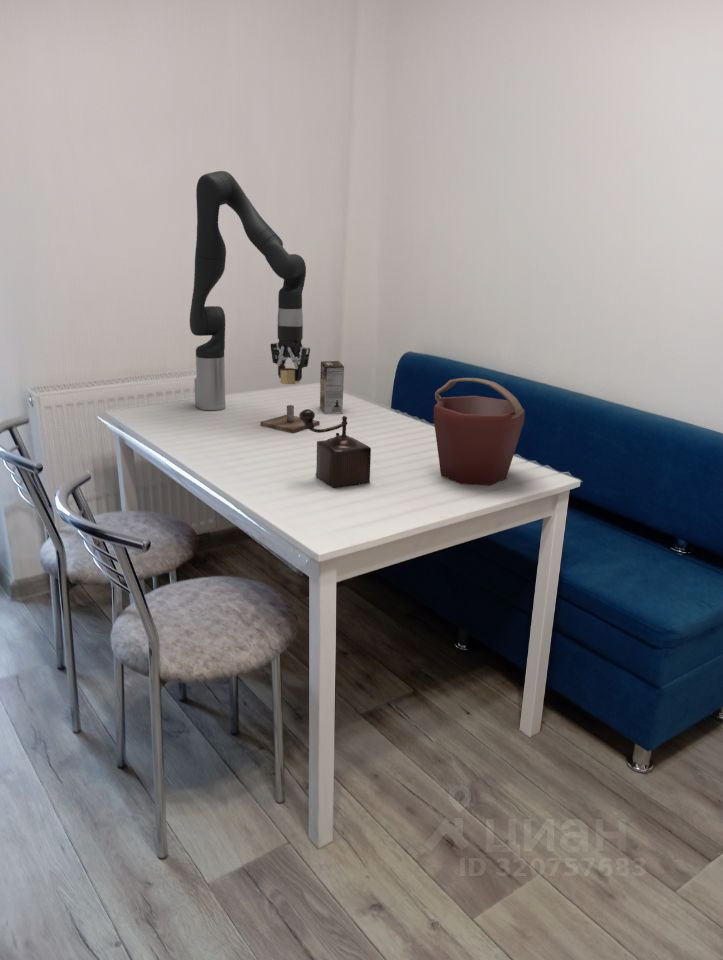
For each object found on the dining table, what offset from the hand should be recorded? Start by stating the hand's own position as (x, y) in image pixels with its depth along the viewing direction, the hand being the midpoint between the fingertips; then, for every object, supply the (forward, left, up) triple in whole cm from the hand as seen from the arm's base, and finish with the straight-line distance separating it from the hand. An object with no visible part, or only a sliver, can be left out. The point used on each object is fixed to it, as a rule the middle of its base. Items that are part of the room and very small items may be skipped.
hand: (289, 379), depth 245 cm
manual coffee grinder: (+42, -34, -15) cm, 56 cm away
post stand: (0, 0, -15) cm, 15 cm away
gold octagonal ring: (0, 0, -1) cm, 1 cm away
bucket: (+67, -6, -15) cm, 69 cm away
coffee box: (-2, +24, -15) cm, 29 cm away
